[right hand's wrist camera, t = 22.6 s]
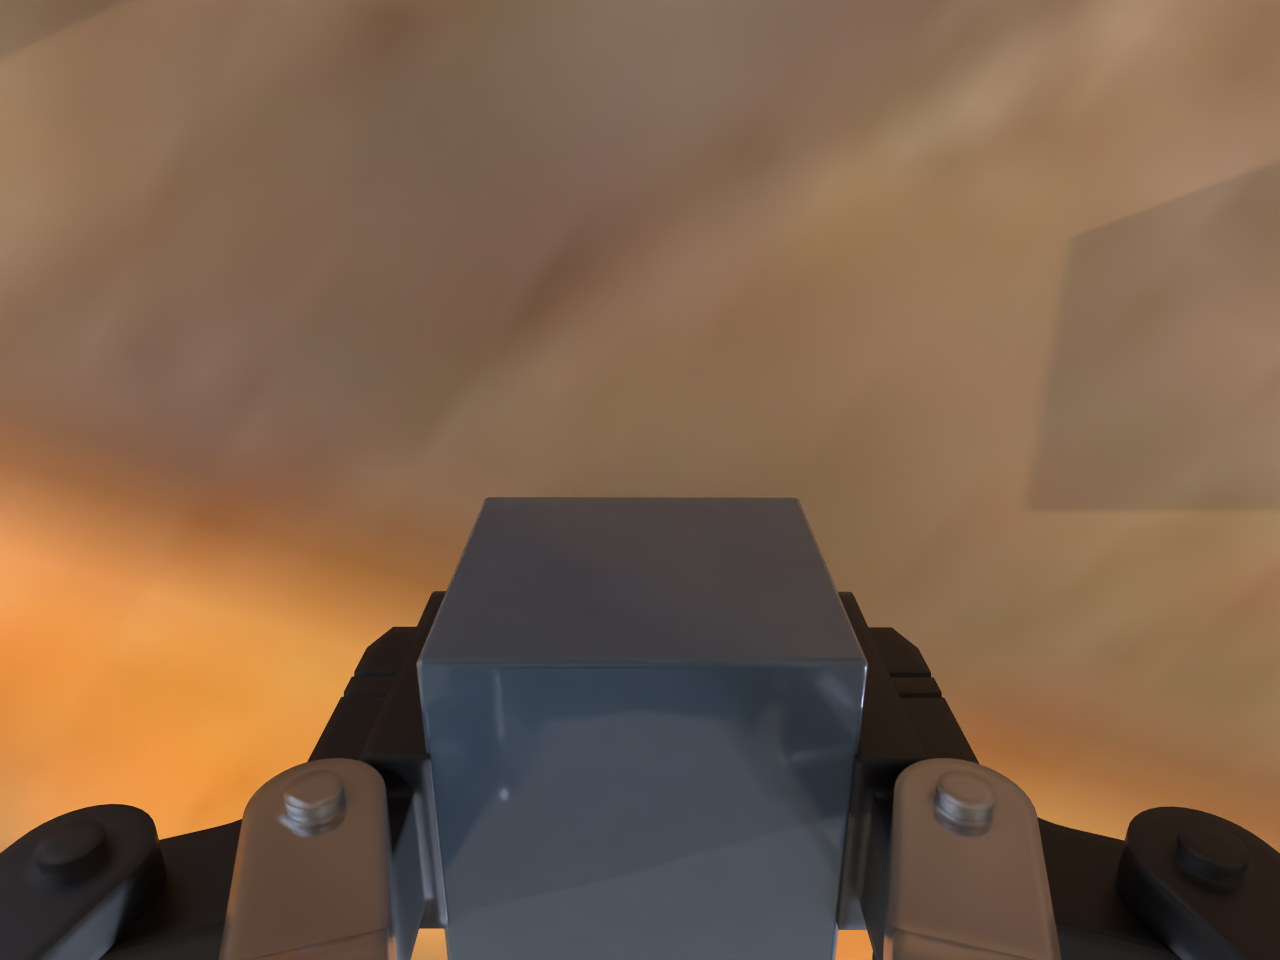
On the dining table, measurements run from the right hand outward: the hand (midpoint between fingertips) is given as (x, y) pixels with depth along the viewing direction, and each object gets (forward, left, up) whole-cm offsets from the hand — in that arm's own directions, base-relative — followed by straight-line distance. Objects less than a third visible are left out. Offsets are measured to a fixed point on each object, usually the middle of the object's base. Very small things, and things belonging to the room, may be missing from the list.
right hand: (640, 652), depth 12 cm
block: (0, 0, 0) cm, 0 cm away
